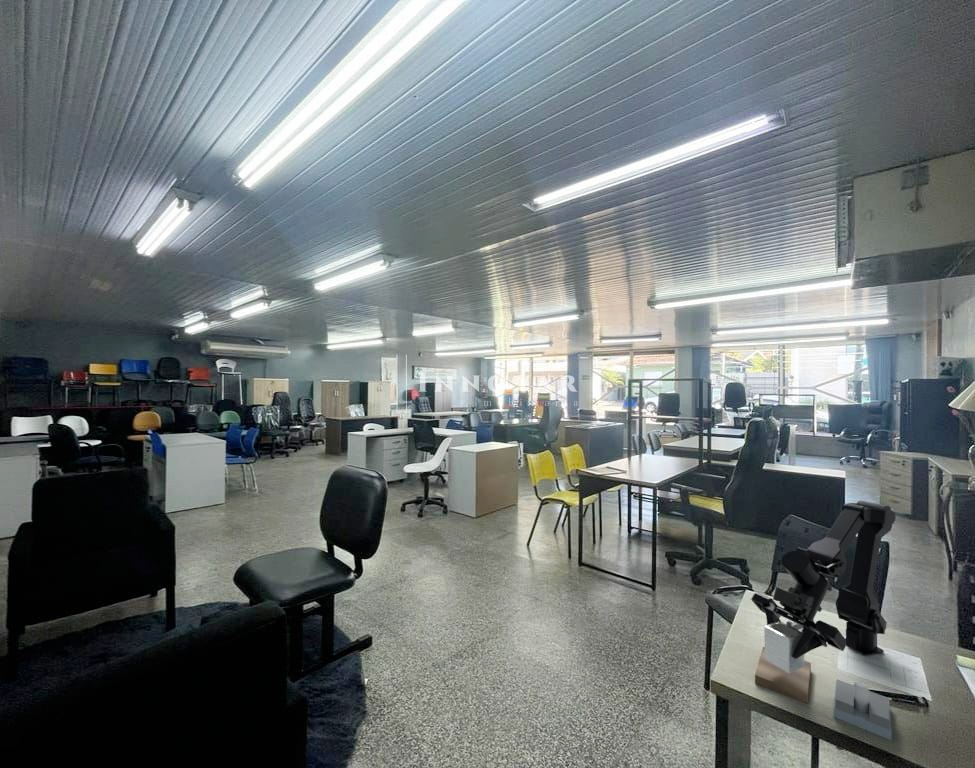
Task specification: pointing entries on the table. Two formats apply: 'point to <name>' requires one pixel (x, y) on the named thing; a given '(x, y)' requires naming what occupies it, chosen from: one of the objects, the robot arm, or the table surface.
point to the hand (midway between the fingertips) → (780, 650)
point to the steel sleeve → (782, 646)
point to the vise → (862, 708)
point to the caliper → (795, 625)
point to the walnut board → (784, 679)
